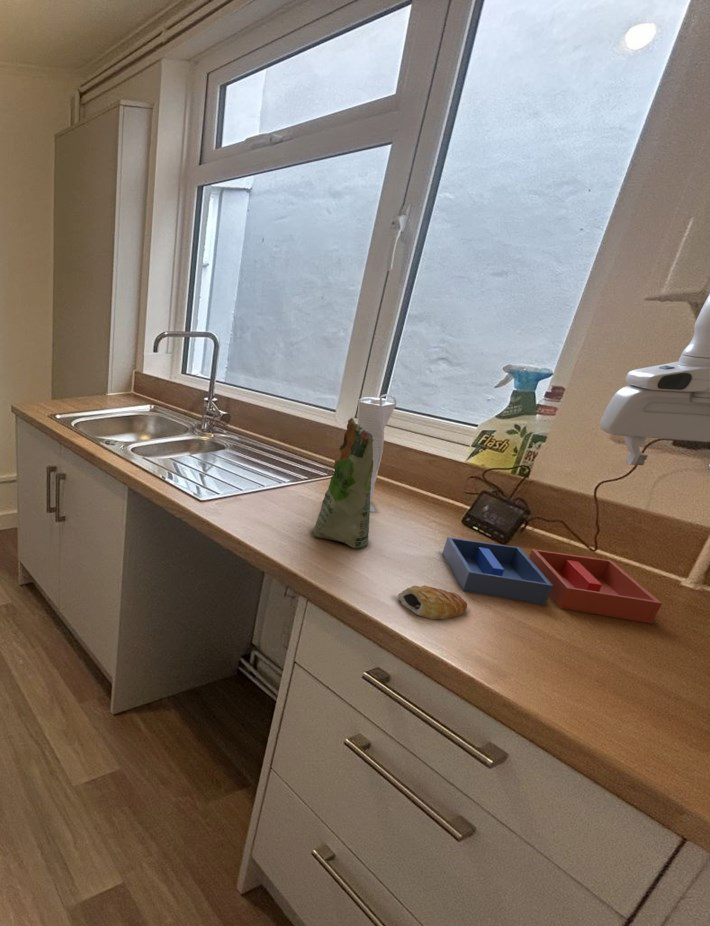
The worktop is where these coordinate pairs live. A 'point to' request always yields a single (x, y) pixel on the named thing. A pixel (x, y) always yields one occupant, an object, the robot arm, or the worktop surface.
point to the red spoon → (580, 576)
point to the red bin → (614, 596)
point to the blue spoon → (488, 562)
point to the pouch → (349, 491)
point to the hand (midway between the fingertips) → (674, 467)
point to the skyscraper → (375, 428)
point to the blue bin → (514, 583)
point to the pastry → (432, 602)
